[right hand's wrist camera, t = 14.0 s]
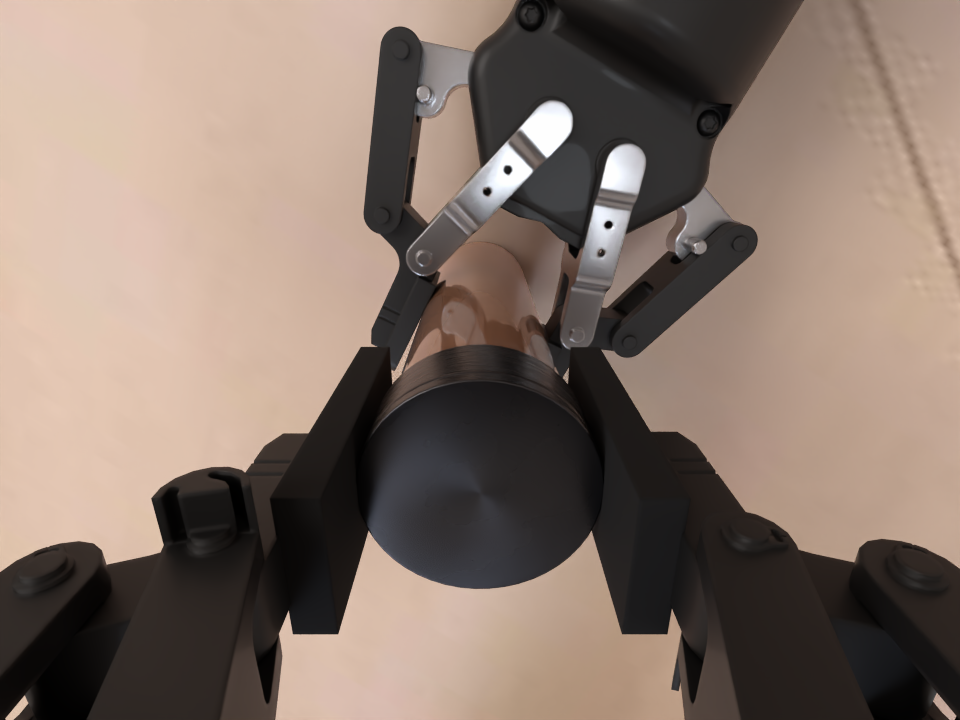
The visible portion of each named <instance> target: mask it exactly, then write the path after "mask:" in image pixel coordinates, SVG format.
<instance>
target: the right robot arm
mask: <svg viewBox="0 0 960 720" xmlns="http://www.w3.org/2000/svg"><path fill="white" fill-rule="evenodd" d="M568 385H569V387H570V388H571V389H572V391H573V392H574V394H575V396H576V397H577V399H578V401H579V403H580V406H581V408H582V411H583V413H584V416H585V418H586V421H587V423H588V426H589V428H590V431H591V434H592V436H593V439H594V441H595V444H596V446H597V449H598V451H599V454H600V457H601V461H602V465H603V469H604V488H603V498H602V506H601V510H600V513H599V515H598V518H597V520H596V523H595V525H594V527H593V528H592V533H593V536H594V540H595V543H596V547H597V550H598V553H599V557H600V560H601V564H602V567H603V571H604V574H605V577H606V581H607V584H608V588H609V591H610V594H611V598H612V601H613V605H614V608H615V612H616V615H617V618H618V622H619V625H620V629H621V632H622V634H667V633H668V627H669V622H670V616H671V610H672V609H673V612H674V614H675V617H676V619H677V621H678V624H679V626H680V629H681V631H682V632H681V638H680V643H679V649H678V654H677V659H676V665H675V670H674V675H673V682H672V689H671V690H676V691H679V686H680V681H681V689H682V698H683V707H684V716H685V720H949V719H948V718H947V717H946V716H945V715H944V714H943V713H942V712H941V711H940V710H939V708H938V707H937V706H936V705H935V703H934V702H933V700H934V698H935V695H936V693H938V694H939V695H940V697H941V698H942V699H943V700H944V701H945V703H946V704H947V705H948V706H949V707H950V709H951V710H952V711H953V712H954V713H955V715H956V718H955V720H960V569H959V568H958V567H956V566H955V565H954V564H952V563H951V562H949V561H948V560H947V559H945V558H943V557H941V556H939V555H937V554H935V553H933V552H931V551H929V550H927V549H925V548H923V547H920V546H917V545H912V544H910V543H906V542H902V541H895V540H886V539H879V540H873V541H867V542H866V543H865V544H864V545H862V546H861V547H860V548H859V551H858V554H857V557H856V560H855V563H854V562H849V561H844V560H840V559H835V558H830V557H825V556H821V555H816V554H812V553H808V552H804V551H801V550H798V547H797V545H796V544H795V542H794V541H793V539H792V538H791V537H790V535H789V534H788V533H787V532H786V531H784V530H783V529H782V528H780V527H779V526H778V525H776V524H775V523H774V522H771V521H769V520H767V519H765V518H763V517H761V516H758V515H756V514H751V513H747V512H745V511H744V509H743V508H742V506H741V505H740V504H739V502H738V501H737V500H736V498H735V497H734V496H733V494H732V493H731V491H730V490H729V489H728V487H727V486H726V485H725V483H724V482H723V481H722V479H721V478H720V476H719V475H718V474H716V473H715V470H714V468H713V467H712V466H711V464H710V463H709V462H707V459H706V457H705V456H704V455H703V453H702V452H701V451H700V449H699V448H698V446H697V445H696V444H695V443H693V442H692V441H690V440H689V439H687V438H686V437H684V436H683V435H681V434H680V433H678V432H650V430H649V428H648V427H647V425H646V423H645V422H644V420H643V418H642V417H641V415H640V413H639V412H638V410H637V408H636V407H635V405H634V404H633V402H632V400H631V399H630V397H629V395H628V394H627V392H626V390H625V389H624V387H623V385H622V384H621V382H620V380H619V379H618V377H617V375H616V374H615V372H614V370H613V369H612V367H611V365H610V364H609V362H608V361H607V359H606V357H605V356H604V354H603V352H602V351H601V349H600V347H571V349H570V364H569V379H568ZM391 386H392V374H391V359H390V347H361V348H360V349H359V351H358V353H357V354H356V356H355V358H354V359H353V361H352V363H351V364H350V366H349V368H348V369H347V371H346V373H345V374H344V376H343V378H342V379H341V381H340V383H339V384H338V386H337V388H336V389H335V391H334V392H333V394H332V396H331V397H330V399H329V401H328V402H327V404H326V406H325V407H324V409H323V411H322V412H321V414H320V416H319V417H318V419H317V421H316V422H315V424H314V426H313V427H312V429H311V431H310V432H309V434H282V435H281V436H279V437H278V438H276V439H275V440H273V441H272V442H270V443H269V444H267V445H266V446H264V448H263V449H262V450H261V452H260V453H259V455H258V456H257V457H256V459H255V460H254V464H251V466H250V467H249V468H248V470H247V471H246V472H243V471H242V470H239V469H235V468H231V467H211V468H206V469H201V470H197V471H193V472H190V473H188V474H185V475H183V476H180V477H177V478H175V479H174V480H172V481H170V482H169V483H167V484H166V485H164V486H163V487H161V488H160V489H159V490H158V491H157V493H156V494H155V495H154V496H153V497H152V498H151V499H152V503H153V506H154V510H155V514H156V518H157V521H158V525H159V529H160V532H161V536H162V540H163V543H164V546H163V548H162V551H161V553H157V554H154V555H150V556H146V557H141V558H136V559H132V560H127V561H122V562H118V563H113V564H108V565H106V562H105V559H104V556H103V553H102V550H101V549H100V548H98V547H97V546H96V545H95V544H93V543H87V542H80V541H78V542H69V543H61V544H57V545H53V546H50V547H46V548H43V549H40V550H37V551H35V552H33V553H31V554H29V555H27V556H25V557H23V558H21V559H19V560H17V561H15V562H14V563H13V564H11V565H10V566H8V567H7V568H6V569H4V570H3V571H1V572H0V720H5V718H6V717H7V716H8V714H9V713H10V712H11V711H12V710H13V708H14V707H15V706H16V705H17V704H18V702H19V701H20V700H21V699H22V698H23V696H24V695H25V697H26V699H27V701H28V705H27V706H26V707H25V708H24V710H23V711H22V712H21V713H20V714H19V715H18V716H17V717H16V718H15V719H14V720H275V717H276V708H277V700H278V691H279V682H280V673H281V664H282V650H281V643H280V638H279V632H280V630H281V627H282V625H283V623H284V620H285V618H286V615H287V613H288V611H289V614H290V620H291V625H292V631H293V634H338V633H339V630H340V626H341V623H342V619H343V616H344V613H345V609H346V606H347V602H348V599H349V596H350V592H351V589H352V585H353V582H354V578H355V575H356V572H357V568H358V565H359V561H360V558H361V555H362V551H363V548H364V544H365V541H366V537H367V534H368V531H369V530H368V528H367V526H366V524H365V522H364V520H363V517H362V515H361V512H360V508H359V504H358V495H357V484H356V472H357V467H358V462H359V458H360V455H361V452H362V450H363V447H364V444H365V442H366V439H367V437H368V434H369V432H370V429H371V426H372V424H373V421H374V419H375V416H376V414H377V411H378V409H379V406H380V404H381V402H382V400H383V398H384V396H385V394H386V393H387V391H388V390H389V388H390V387H391Z"/></svg>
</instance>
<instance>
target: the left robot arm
mask: <svg viewBox="0 0 960 720" xmlns="http://www.w3.org/2000/svg"><path fill="white" fill-rule="evenodd" d="M803 1H804V0H516V3H515V5H514V7H513V9H512V11H511V13H510V15H509V16H508V18H507V19H506V21H505V22H504V23H503V25H502V26H501V27H500V28H499V29H498V30H497V31H496V32H495V33H493V34H492V35H491V36H489V37H488V38H487V39H485V40H484V41H483V42H482V43H481V44H480V45H479V46H478V47H477V49H476V50H475V52H471V51H466V50H461V49H456V48H452V47H447V46H442V45H437V44H433V43H428V42H423V41H420V40H419V39H418V37H417V36H416V34H415V33H414V32H413V31H411V30H410V29H408V28H406V27H394V28H392V29H390V30H389V31H388V32H387V33H386V34H385V35H384V37H383V39H382V42H381V47H380V57H379V67H378V76H377V86H376V96H375V106H374V116H373V126H372V136H371V145H370V155H369V165H368V175H367V185H366V195H365V205H364V219H365V222H366V224H367V226H368V227H369V228H370V229H371V230H372V231H374V232H376V233H379V234H381V235H382V236H383V237H384V238H385V239H386V240H387V241H388V242H389V243H390V245H391V246H392V247H393V248H394V249H395V250H396V252H397V254H398V257H399V262H400V266H399V271H398V273H397V276H396V278H395V280H394V282H393V284H392V286H391V289H390V291H389V293H388V295H387V297H386V299H385V302H384V304H383V306H382V308H381V310H380V313H379V315H378V317H377V319H376V321H375V323H374V326H373V328H372V335H371V344H373V345H375V346H377V347H390V359H391V370H393V371H395V369H396V367H397V366H398V363H399V361H400V359H401V357H402V355H403V353H404V351H405V349H406V347H407V345H408V343H409V341H410V339H411V337H412V335H413V333H414V331H415V329H416V327H417V325H418V323H419V321H420V319H421V317H422V314H423V312H424V310H425V308H426V306H427V304H428V302H429V300H430V298H431V296H432V294H433V292H434V290H435V288H436V286H437V283H438V280H439V276H440V272H438V269H439V268H440V267H441V266H442V265H443V264H444V263H445V262H446V261H447V260H448V259H449V258H450V257H451V256H452V255H453V254H454V253H455V252H456V251H457V249H458V248H459V247H460V246H461V245H462V244H463V243H464V242H465V241H466V240H467V239H468V238H469V237H470V236H471V235H472V234H473V233H475V232H476V231H477V230H478V229H479V228H480V227H481V226H482V225H483V224H484V223H485V222H486V221H487V220H488V219H489V218H490V217H491V216H492V215H493V214H494V213H495V212H496V211H497V210H498V209H499V207H501V208H503V209H505V210H507V211H508V212H510V213H512V214H514V215H516V216H518V217H522V218H526V219H531V220H536V221H540V222H542V223H544V224H545V225H546V226H547V227H548V228H549V229H550V230H551V231H552V232H553V233H554V234H555V235H556V236H557V237H558V238H559V239H561V240H563V241H565V246H564V251H563V255H562V261H561V274H560V279H559V283H558V288H557V292H556V296H555V301H554V305H553V309H552V314H551V317H550V319H549V321H548V322H547V324H546V325H544V324H542V323H541V325H542V327H543V330H544V333H545V336H546V339H547V342H548V344H549V347H550V350H551V353H552V356H553V359H554V362H555V364H556V367H557V370H558V373H559V375H560V376H561V377H563V376H564V374H565V373H566V371H567V369H568V368H569V364H570V349H571V347H600V349H603V350H611V351H615V352H616V353H617V354H618V355H619V356H621V357H626V358H629V357H634V356H636V355H638V354H639V353H640V352H642V351H643V350H644V349H645V348H646V347H647V346H648V345H649V344H651V343H652V342H653V341H654V340H655V339H656V338H657V337H659V336H660V335H661V334H662V333H663V332H664V331H665V330H666V329H668V328H669V327H670V326H671V325H672V324H673V323H674V322H676V321H677V320H678V319H679V318H680V317H681V316H682V315H684V314H685V313H686V312H687V311H688V310H689V309H690V308H691V307H693V306H694V305H695V304H696V303H697V302H698V301H699V300H701V299H702V298H703V297H704V296H705V295H706V294H707V293H708V292H710V291H711V290H712V289H713V288H714V287H715V286H716V285H718V284H719V283H720V282H721V281H722V280H723V279H724V278H726V277H727V276H728V275H729V274H730V273H731V272H732V271H733V270H735V269H736V268H737V267H738V266H739V265H740V264H741V263H743V262H744V261H745V260H746V259H747V258H748V257H749V256H750V255H751V254H752V253H753V252H754V250H755V249H756V246H757V242H758V238H757V234H756V232H755V231H754V229H753V228H751V227H750V226H747V225H743V224H741V223H739V222H736V221H734V220H732V219H731V217H730V216H729V215H728V214H727V213H726V212H725V210H724V209H723V208H722V207H721V206H720V205H719V203H718V202H717V201H716V200H715V199H714V198H713V196H712V195H711V194H710V193H709V192H708V191H707V189H706V188H705V187H704V185H705V183H706V181H707V178H708V174H709V164H710V157H711V153H712V149H713V146H714V143H715V141H716V139H717V137H718V135H719V133H720V132H721V130H722V129H723V127H724V126H725V125H726V123H727V122H728V120H729V119H730V117H731V116H732V115H733V113H734V112H735V110H736V109H737V107H738V105H739V104H740V102H741V101H742V99H743V97H744V96H745V94H746V92H747V91H748V89H749V88H750V86H751V84H752V83H753V81H754V80H755V78H756V76H757V75H758V73H759V72H760V70H761V68H762V67H763V65H764V64H765V62H766V60H767V59H768V57H769V56H770V54H771V52H772V51H773V49H774V47H775V46H776V44H777V43H778V41H779V39H780V38H781V36H782V35H783V33H784V31H785V30H786V28H787V27H788V25H789V23H790V22H791V20H792V19H793V17H794V15H795V14H796V12H797V11H798V9H799V7H800V6H801V4H802V2H803ZM463 87H466V88H469V92H470V98H471V105H472V112H473V119H474V126H475V132H476V139H477V146H478V153H479V160H480V168H479V169H478V170H477V171H476V172H475V173H474V174H473V175H472V176H471V178H470V179H469V180H468V181H467V182H466V183H465V184H464V185H463V186H462V187H461V188H460V190H459V191H458V192H457V193H456V194H455V195H454V196H453V197H452V199H451V200H450V201H449V202H448V203H447V204H446V205H445V206H444V207H443V209H442V210H441V211H440V212H439V213H438V214H437V215H436V216H435V217H434V218H433V219H432V221H431V222H430V223H429V224H428V223H427V222H426V221H425V220H424V219H423V218H422V217H421V216H420V215H419V214H418V213H417V212H416V211H415V210H414V208H413V207H412V206H411V198H412V190H413V182H414V175H415V167H416V160H417V152H418V145H419V137H420V129H421V122H422V118H428V119H429V118H435V117H437V116H438V115H440V114H441V113H442V111H443V110H444V108H445V106H446V102H447V99H448V97H449V96H450V94H451V93H452V92H453V91H455V90H456V89H458V88H463ZM485 188H486V189H485ZM674 210H677V221H676V223H675V225H674V227H673V228H672V229H671V231H670V232H669V234H668V236H667V239H666V245H667V248H668V250H669V251H668V252H667V253H665V254H664V255H663V256H662V257H661V258H660V259H659V260H658V261H657V262H656V263H655V264H654V265H653V266H652V267H650V268H649V269H648V270H647V271H646V272H645V273H644V274H643V275H642V276H641V277H640V278H639V279H638V280H636V281H635V282H634V283H633V284H632V285H631V286H630V287H629V288H628V289H627V290H626V291H625V292H624V293H622V294H621V295H620V296H619V297H618V298H617V299H616V300H615V301H614V302H613V303H612V304H611V305H610V306H609V307H607V308H601V307H602V304H603V300H604V296H605V293H606V292H607V291H608V290H609V289H610V287H611V285H612V282H613V278H614V275H615V271H616V267H617V263H618V260H619V256H620V252H621V249H622V245H623V241H624V237H625V235H626V234H628V233H630V232H632V231H634V230H636V229H638V228H640V227H642V226H644V225H646V224H648V223H650V222H652V221H654V220H656V219H658V218H660V217H662V216H664V215H666V214H668V213H670V212H672V211H674ZM600 249H602V252H601V253H600V254H599V250H600Z"/></svg>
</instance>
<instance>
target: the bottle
mask: <svg viewBox="0 0 960 720" xmlns="http://www.w3.org/2000/svg"><path fill="white" fill-rule="evenodd" d="M438 272H440V276H439V280H438V283H437V286H436V288H435V290H434V292H433V294H432V296H431V298H430V300H429V302H428V304H427V306H426V308H425V310H424V312H423V314H422V317H421V320H420V323H419V326H418V328H417V331H416V334H415V337H414V340H413V343H412V346H411V348H410V351H409V354H408V357H407V360H406V363H405V365H404V368H403V371H402V374H403V373H404V372H405V371H406V370H407V369H409V368H410V367H411V366H413V365H414V364H415V363H417V362H419V361H420V360H422V359H424V358H426V357H427V356H430V355H432V354H434V353H437V352H439V351H442V350H446V349H449V348H453V347H458V346H465V345H480V344H487V345H496V346H503V347H507V348H511V349H515V350H518V351H521V352H523V353H526V354H529V355H531V356H533V357H535V358H536V359H538V360H540V361H542V362H543V363H545V364H546V365H548V366H549V367H550V368H552V369H553V370H554V371H555V372H556V373H558V370H557V367H556V364H555V362H554V359H553V356H552V353H551V350H550V347H549V344H548V342H547V339H546V336H545V333H544V330H543V327H542V325H541V322H540V319H539V316H538V313H537V310H536V307H535V305H534V302H533V299H532V296H531V293H530V290H529V288H528V285H527V282H526V279H525V276H524V273H523V270H522V268H521V266H520V264H519V263H518V261H517V260H516V258H515V257H514V256H513V255H512V254H511V253H510V252H509V251H507V250H506V249H504V248H502V247H500V246H498V245H496V244H493V243H488V242H472V243H468V244H465V245H462V246H460V247H459V248H458V249H457V251H456V252H455V253H454V254H453V255H452V256H451V257H450V258H449V259H448V260H447V261H446V262H445V263H444V264H443V265H442V266H441V267H440V268H439V269H438ZM402 374H401V375H402ZM558 374H559V373H558Z"/></svg>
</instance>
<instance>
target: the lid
mask: <svg viewBox="0 0 960 720" xmlns="http://www.w3.org/2000/svg"><path fill="white" fill-rule="evenodd" d="M356 484H357V495H358V504H359V508H360V512H361V515H362V517H363V520H364V522H365V524H366V526H367V528H368V530H369V531H370V533H371V535H372V536H373V538H374V539H375V540H376V542H377V543H378V544H379V545H380V546H381V548H382V549H383V550H384V551H385V552H386V553H387V554H388V555H389V556H391V557H392V558H393V559H394V560H395V561H397V562H398V563H399V564H401V565H402V566H404V567H405V568H407V569H408V570H410V571H412V572H414V573H416V574H417V575H420V576H422V577H424V578H427V579H429V580H431V581H435V582H438V583H441V584H445V585H449V586H455V587H460V588H471V589H490V588H499V587H506V586H511V585H515V584H519V583H522V582H525V581H528V580H531V579H534V578H536V577H538V576H541V575H543V574H545V573H547V572H549V571H550V570H552V569H554V568H555V567H557V566H558V565H560V564H561V563H562V562H564V561H565V560H566V559H568V558H569V557H570V556H571V555H572V554H573V553H574V552H575V551H576V550H577V549H578V548H579V547H580V546H581V545H582V543H583V542H584V541H585V539H586V538H587V537H588V535H589V534H590V532H591V530H592V528H593V527H594V525H595V523H596V520H597V518H598V515H599V513H600V510H601V506H602V498H603V488H604V469H603V465H602V461H601V457H600V454H599V451H598V449H597V446H596V444H595V441H594V439H593V436H592V434H591V431H590V428H589V426H588V423H587V421H586V418H585V416H584V413H583V411H582V408H581V406H580V403H579V401H578V399H577V397H576V396H575V394H574V392H573V391H572V389H571V388H570V387H569V385H568V384H567V383H566V382H565V380H564V379H563V378H562V377H561V376H560V375H559V374H558V373H556V372H555V371H554V370H553V369H552V368H550V367H549V366H548V365H546V364H545V363H543V362H542V361H540V360H538V359H536V358H535V357H533V356H531V355H529V354H526V353H523V352H521V351H518V350H515V349H511V348H507V347H503V346H496V345H487V344H480V345H465V346H458V347H453V348H449V349H446V350H442V351H439V352H437V353H434V354H432V355H430V356H427V357H426V358H424V359H422V360H420V361H419V362H417V363H415V364H414V365H413V366H411V367H410V368H409V369H407V370H406V371H405V372H404V373H403V374H402V375H401V376H400V377H399V378H398V379H397V380H396V381H395V382H394V383H393V384H392V386H391V387H390V388H389V390H388V391H387V393H386V394H385V396H384V398H383V400H382V402H381V404H380V406H379V409H378V411H377V414H376V416H375V419H374V421H373V424H372V426H371V429H370V432H369V434H368V437H367V439H366V442H365V444H364V447H363V450H362V452H361V455H360V458H359V462H358V467H357V472H356Z"/></svg>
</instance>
